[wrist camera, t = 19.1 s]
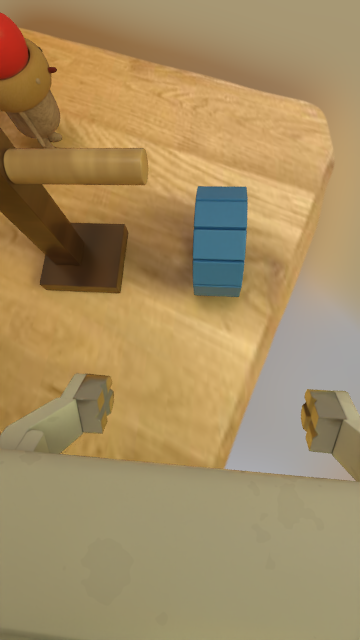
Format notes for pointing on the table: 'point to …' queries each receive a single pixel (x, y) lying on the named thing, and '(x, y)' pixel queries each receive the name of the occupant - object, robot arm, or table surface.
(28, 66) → the toy
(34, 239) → the rack
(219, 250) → the blue segmented wheel
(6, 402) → the table surface
